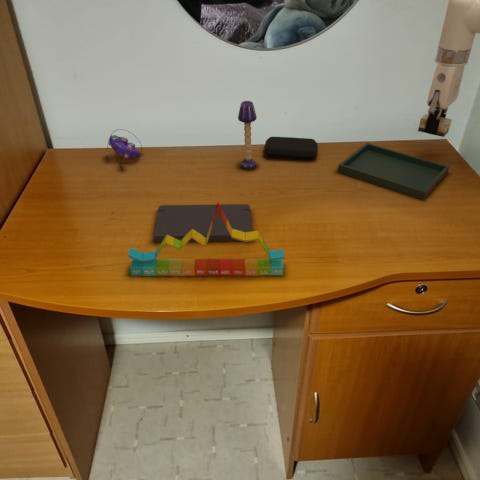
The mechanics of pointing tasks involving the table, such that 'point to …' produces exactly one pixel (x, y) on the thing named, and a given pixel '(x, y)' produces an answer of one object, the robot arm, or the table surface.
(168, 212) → the notebook
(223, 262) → the chart
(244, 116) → the toy lamp
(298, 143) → the carrying case
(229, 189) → the table surface
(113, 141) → the purple ringed ornament
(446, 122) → the wooden block
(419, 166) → the tray
